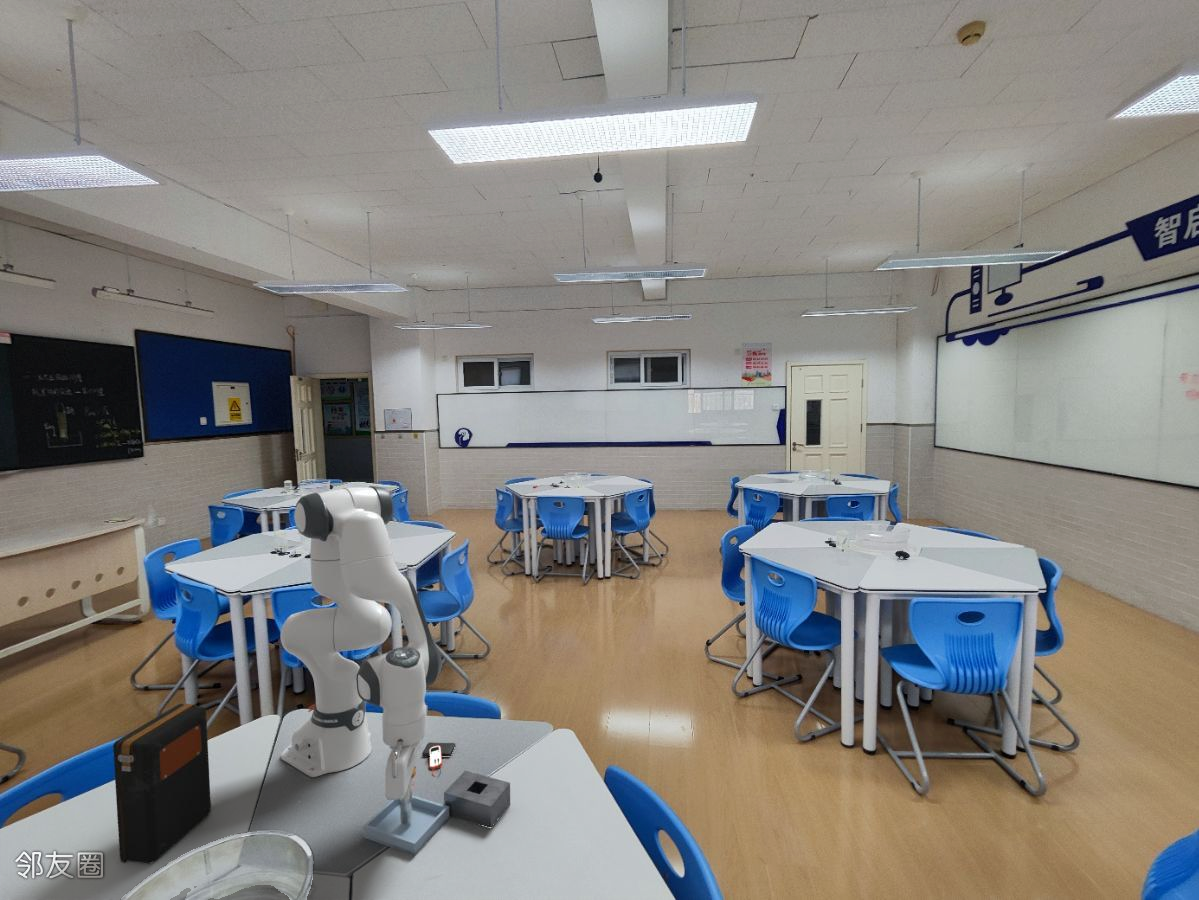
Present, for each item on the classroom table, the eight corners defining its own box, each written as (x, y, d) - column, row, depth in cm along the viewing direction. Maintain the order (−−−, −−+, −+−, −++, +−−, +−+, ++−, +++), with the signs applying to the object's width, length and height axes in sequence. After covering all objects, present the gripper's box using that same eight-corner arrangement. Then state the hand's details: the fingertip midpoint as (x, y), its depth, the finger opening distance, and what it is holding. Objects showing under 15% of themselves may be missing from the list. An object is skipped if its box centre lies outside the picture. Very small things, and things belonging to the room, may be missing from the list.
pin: (394, 818, 118) (394, 768, 117) (412, 811, 120) (412, 761, 119) (399, 829, 114) (399, 777, 114) (418, 821, 117) (417, 771, 116)
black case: (183, 808, 123) (177, 700, 121) (217, 811, 122) (212, 703, 120) (113, 865, 107) (105, 742, 106) (152, 869, 106) (145, 745, 105)
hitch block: (444, 814, 121) (443, 792, 121) (465, 790, 128) (465, 770, 128) (491, 828, 117) (490, 806, 116) (510, 803, 124) (510, 782, 124)
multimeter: (446, 796, 127) (445, 782, 127) (397, 792, 129) (396, 778, 128) (472, 750, 145) (472, 737, 145) (429, 747, 146) (429, 734, 146)
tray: (363, 837, 114) (363, 826, 114) (401, 802, 125) (400, 791, 125) (414, 855, 110) (414, 843, 109) (449, 817, 120) (449, 806, 120)
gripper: (409, 756, 106) (411, 824, 107) (428, 701, 126) (430, 759, 127) (375, 759, 105) (377, 827, 106) (400, 703, 125) (401, 761, 126)
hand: (406, 789), depth 117 cm, fingers closed on pin, 2 cm apart
